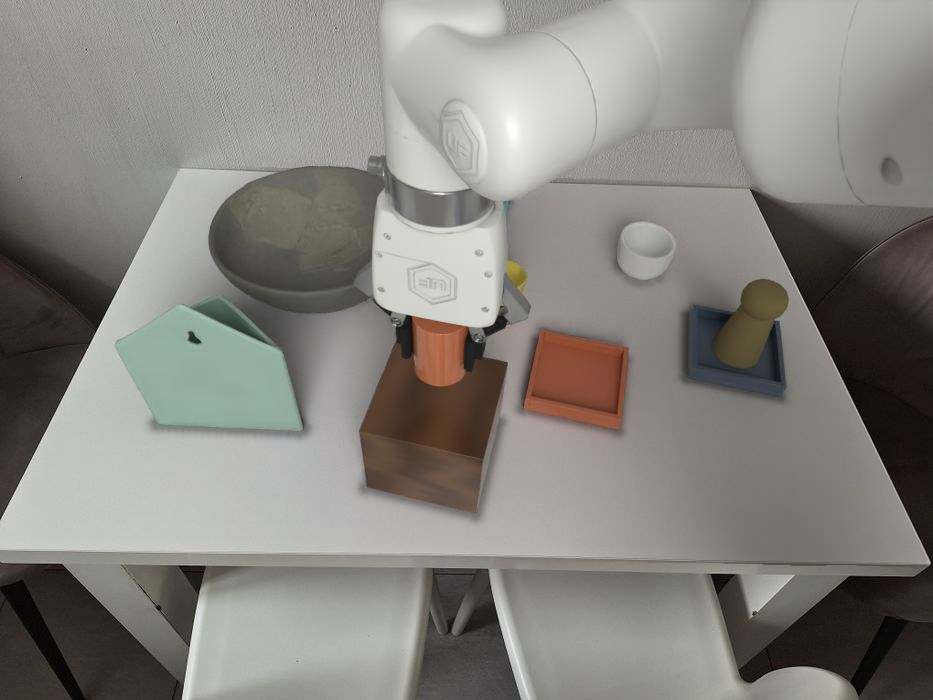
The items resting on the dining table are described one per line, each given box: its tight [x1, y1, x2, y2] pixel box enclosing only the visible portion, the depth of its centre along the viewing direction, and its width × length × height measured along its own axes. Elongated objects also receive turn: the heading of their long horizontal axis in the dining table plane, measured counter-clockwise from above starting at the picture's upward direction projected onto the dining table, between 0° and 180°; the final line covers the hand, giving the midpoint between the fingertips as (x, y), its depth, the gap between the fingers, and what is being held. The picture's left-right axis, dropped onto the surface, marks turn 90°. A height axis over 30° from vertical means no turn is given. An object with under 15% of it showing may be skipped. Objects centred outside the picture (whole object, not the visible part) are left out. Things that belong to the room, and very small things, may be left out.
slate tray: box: [686, 304, 787, 398], centre depth 83 cm, size 11×11×2 cm
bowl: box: [207, 165, 385, 314], centre depth 86 cm, size 26×26×10 cm
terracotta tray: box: [522, 329, 630, 430], centre depth 79 cm, size 11×11×2 cm
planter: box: [114, 294, 304, 432], centre depth 68 cm, size 16×8×20 cm, turn 89°
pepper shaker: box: [712, 278, 790, 369], centre depth 80 cm, size 6×6×11 cm
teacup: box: [616, 219, 677, 281], centre depth 92 cm, size 10×8×5 cm
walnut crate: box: [358, 341, 509, 514], centre depth 68 cm, size 12×12×11 cm
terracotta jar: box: [411, 316, 469, 386], centre depth 58 cm, size 5×5×7 cm
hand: (440, 352), depth 59 cm, fingers closed on terracotta jar, 5 cm apart
